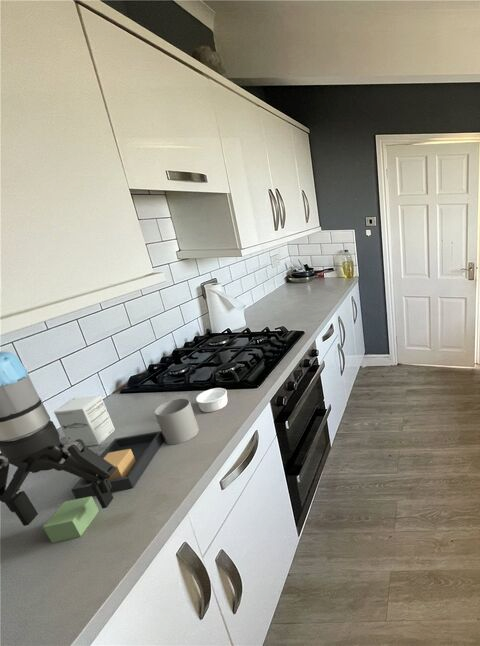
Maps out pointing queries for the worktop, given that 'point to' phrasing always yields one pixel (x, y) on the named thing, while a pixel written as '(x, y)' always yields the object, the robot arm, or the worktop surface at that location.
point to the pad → (71, 519)
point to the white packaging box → (85, 420)
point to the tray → (143, 454)
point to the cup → (176, 421)
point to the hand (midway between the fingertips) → (70, 511)
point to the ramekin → (212, 399)
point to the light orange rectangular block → (120, 463)
